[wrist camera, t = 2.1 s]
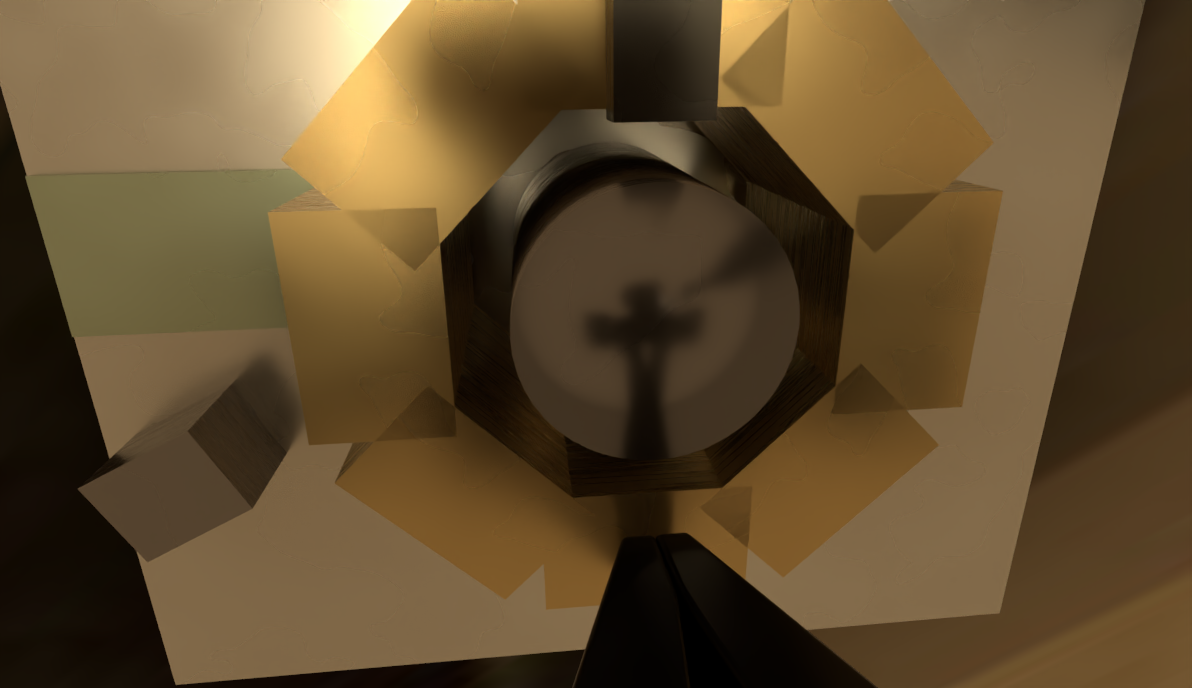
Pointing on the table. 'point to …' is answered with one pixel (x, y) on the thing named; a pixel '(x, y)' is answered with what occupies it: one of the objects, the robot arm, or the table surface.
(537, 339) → the post base
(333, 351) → the octagonal ring with handle
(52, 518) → the table surface
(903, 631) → the table surface
